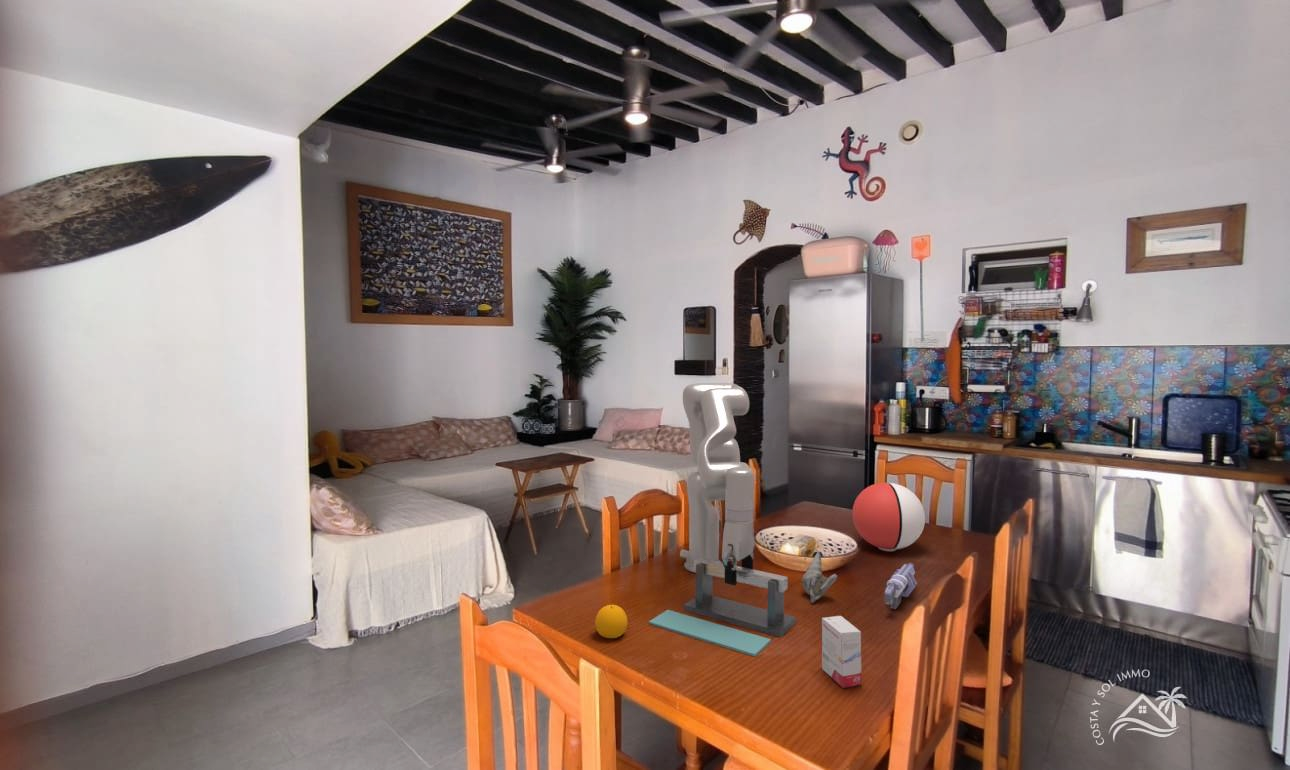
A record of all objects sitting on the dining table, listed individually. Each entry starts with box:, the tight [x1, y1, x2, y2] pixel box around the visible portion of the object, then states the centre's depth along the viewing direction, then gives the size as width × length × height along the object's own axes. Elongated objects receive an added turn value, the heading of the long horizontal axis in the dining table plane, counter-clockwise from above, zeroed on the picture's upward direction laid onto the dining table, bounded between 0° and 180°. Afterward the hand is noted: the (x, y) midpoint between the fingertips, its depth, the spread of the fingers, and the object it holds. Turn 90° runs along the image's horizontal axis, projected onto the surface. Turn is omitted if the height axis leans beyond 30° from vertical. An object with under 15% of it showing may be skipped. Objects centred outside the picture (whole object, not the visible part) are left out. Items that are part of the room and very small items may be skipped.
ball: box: [852, 482, 926, 552], centre depth 221 cm, size 24×24×23 cm
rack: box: [683, 559, 797, 638], centre depth 166 cm, size 28×10×12 cm, turn 55°
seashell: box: [801, 550, 838, 604], centre depth 181 cm, size 10×17×10 cm, turn 145°
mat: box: [648, 609, 772, 658], centre depth 157 cm, size 30×9×1 cm, turn 55°
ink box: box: [821, 615, 863, 689], centre depth 135 cm, size 9×5×12 cm, turn 13°
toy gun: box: [883, 562, 918, 610], centre depth 176 cm, size 7×28×8 cm, turn 145°
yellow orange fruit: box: [594, 604, 628, 639], centre depth 155 cm, size 8×8×8 cm
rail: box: [694, 558, 789, 593], centre depth 166 cm, size 26×3×3 cm, turn 55°
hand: (739, 578), depth 166 cm, fingers open, 9 cm apart
